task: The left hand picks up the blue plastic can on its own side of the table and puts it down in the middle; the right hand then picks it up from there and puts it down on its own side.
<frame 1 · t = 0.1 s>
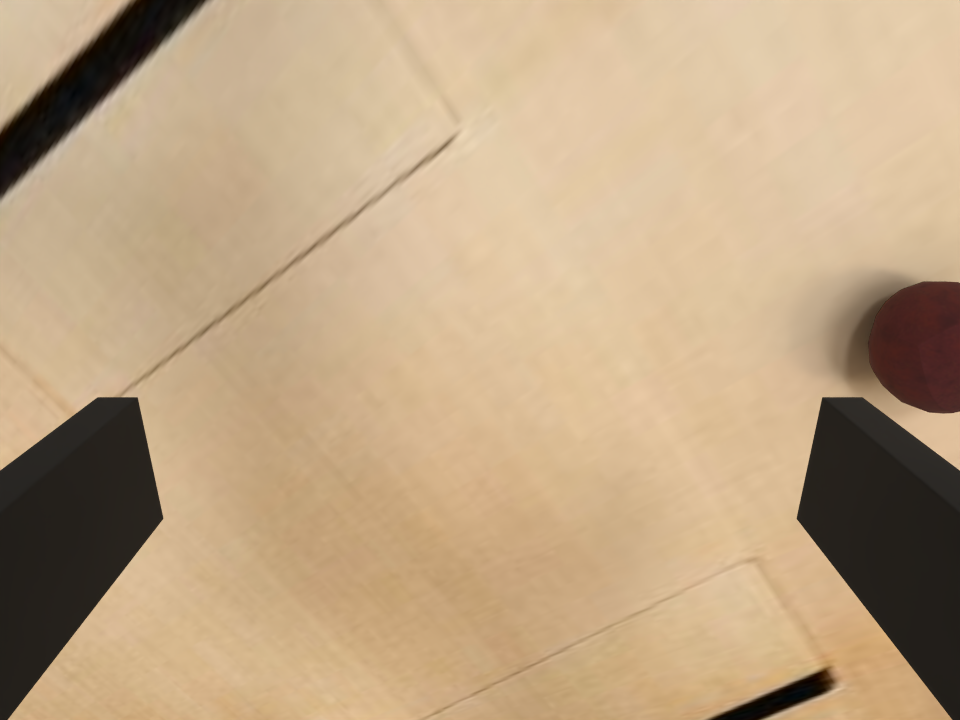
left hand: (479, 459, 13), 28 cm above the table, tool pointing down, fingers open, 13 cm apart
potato: (901, 325, 41), on the table
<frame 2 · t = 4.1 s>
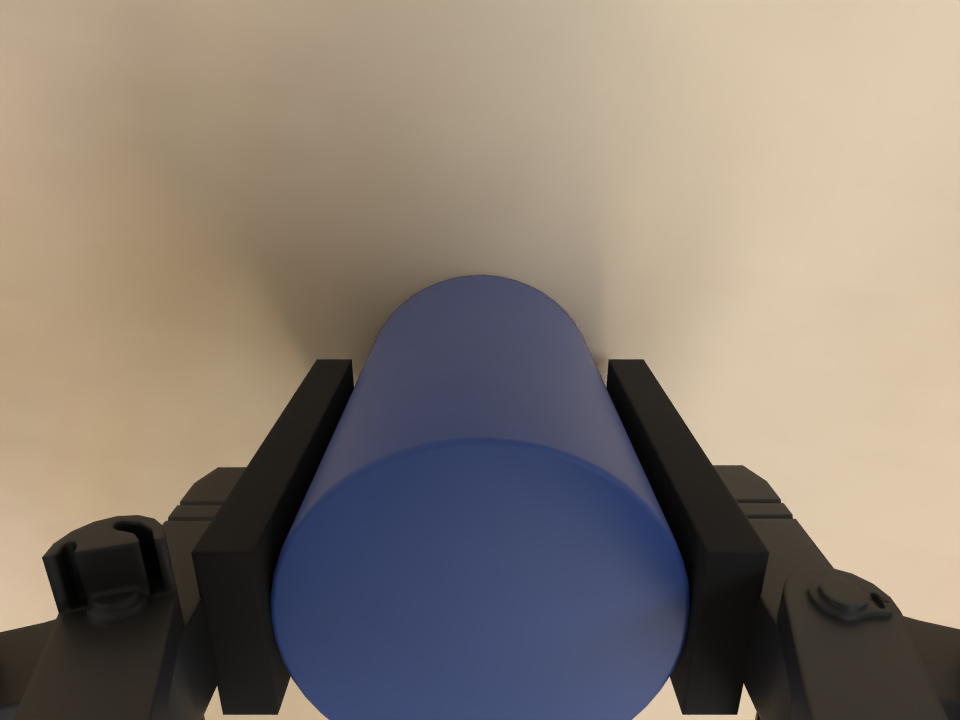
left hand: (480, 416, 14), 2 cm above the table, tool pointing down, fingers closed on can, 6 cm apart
can: (480, 383, 16), on the table, touching left hand
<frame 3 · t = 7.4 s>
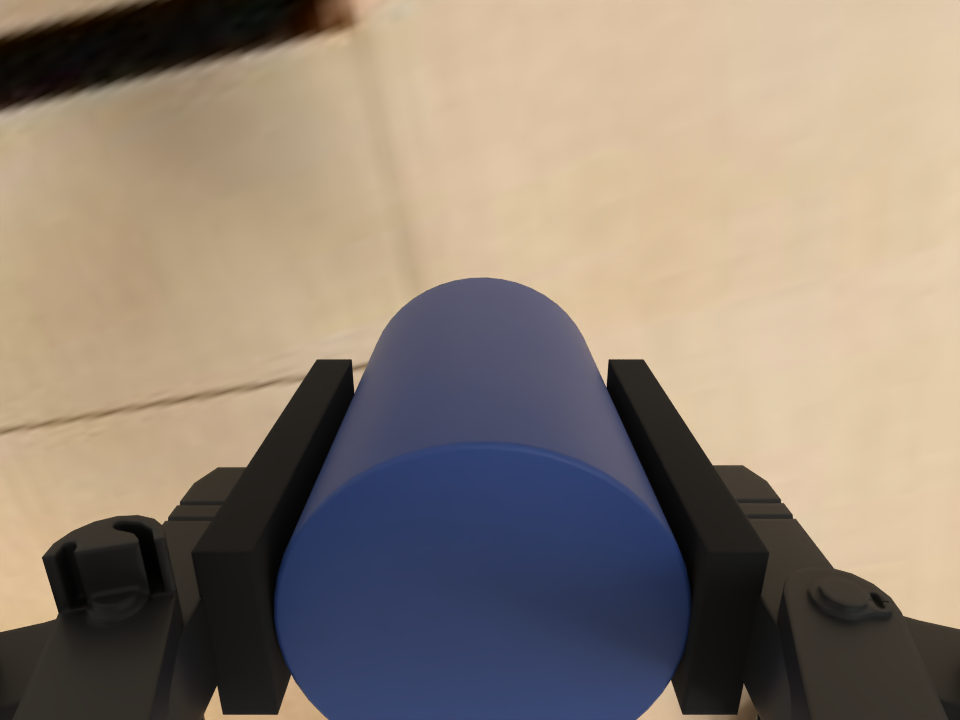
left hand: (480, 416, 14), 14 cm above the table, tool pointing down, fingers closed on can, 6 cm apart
can: (481, 385, 16), point 12 cm above the table, touching left hand
when the left hand's fingers open (3 cm above the table, at t = 11.0 s): can drops 1 cm, on the table.
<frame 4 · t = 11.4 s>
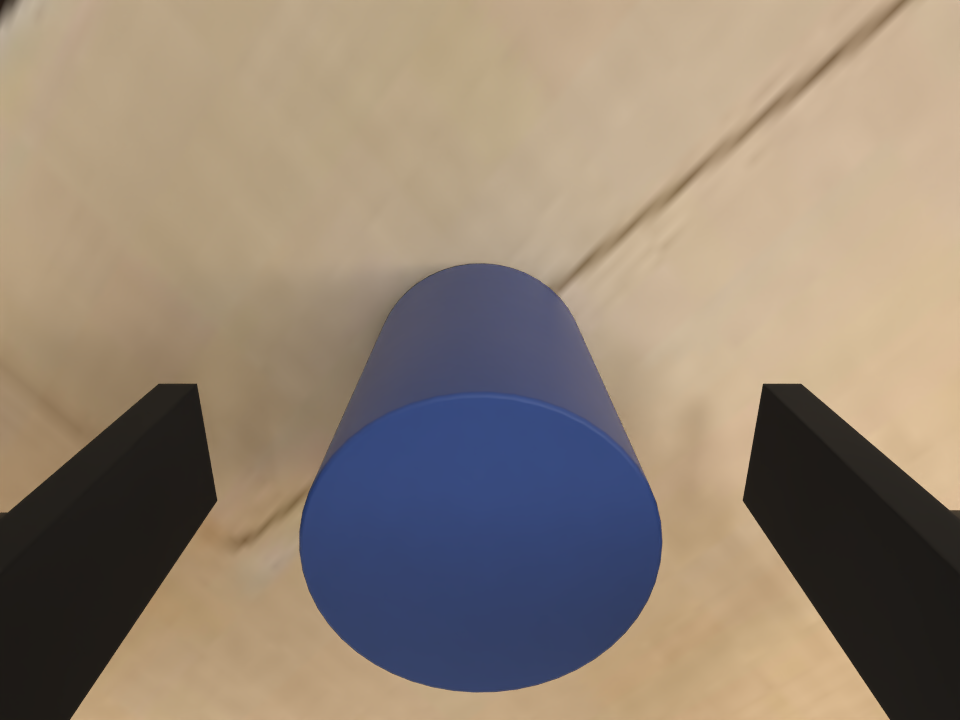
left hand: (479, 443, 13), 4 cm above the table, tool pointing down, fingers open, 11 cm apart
can: (480, 364, 17), on the table
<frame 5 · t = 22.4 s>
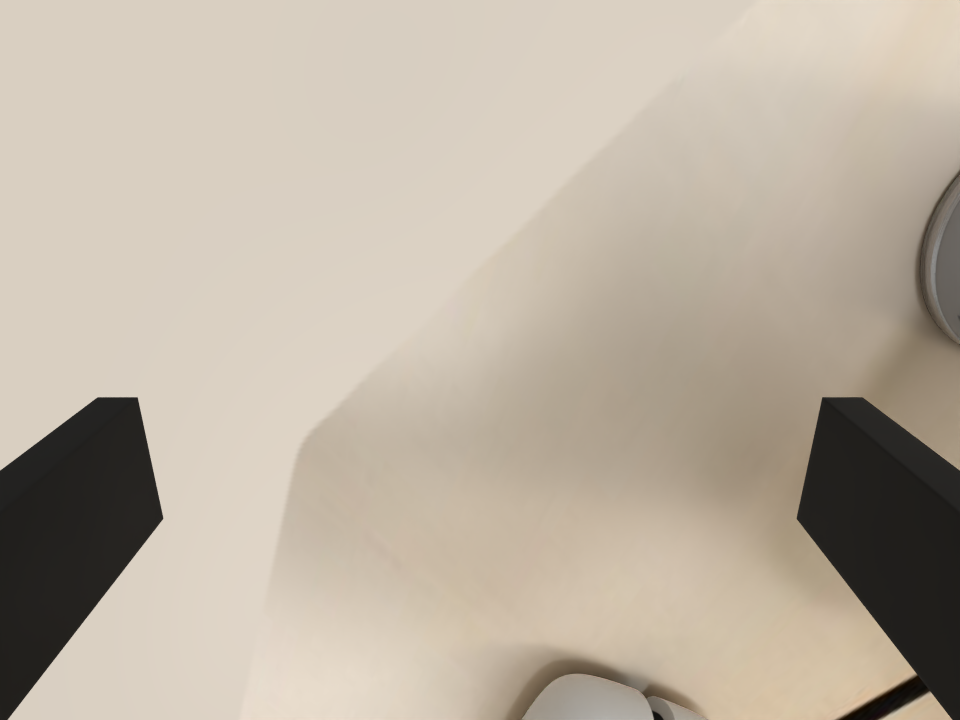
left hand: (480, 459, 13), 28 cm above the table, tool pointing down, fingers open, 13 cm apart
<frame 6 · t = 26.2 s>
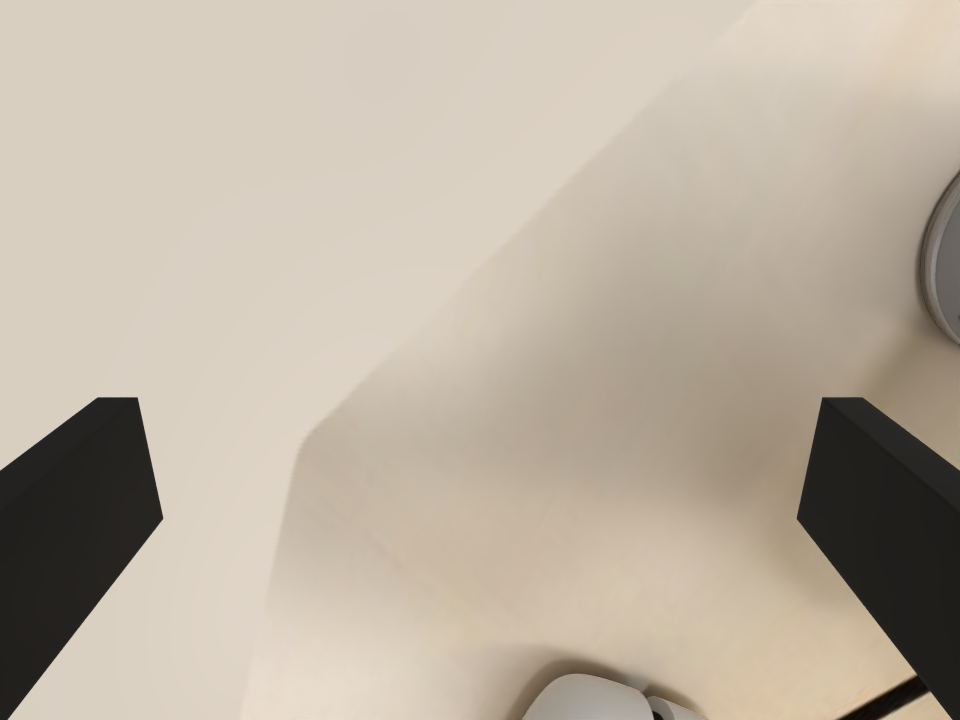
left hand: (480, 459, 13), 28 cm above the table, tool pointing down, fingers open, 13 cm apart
when the right hand's fingers open (3 cm above the table, at t = 30.1 s): can drops 1 cm, on the table.
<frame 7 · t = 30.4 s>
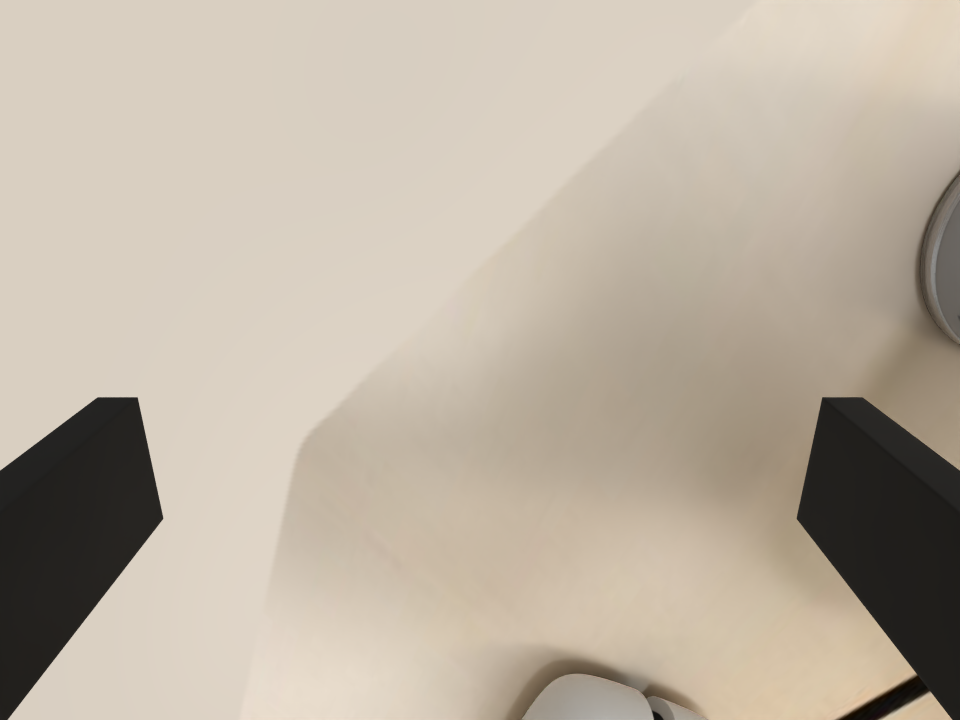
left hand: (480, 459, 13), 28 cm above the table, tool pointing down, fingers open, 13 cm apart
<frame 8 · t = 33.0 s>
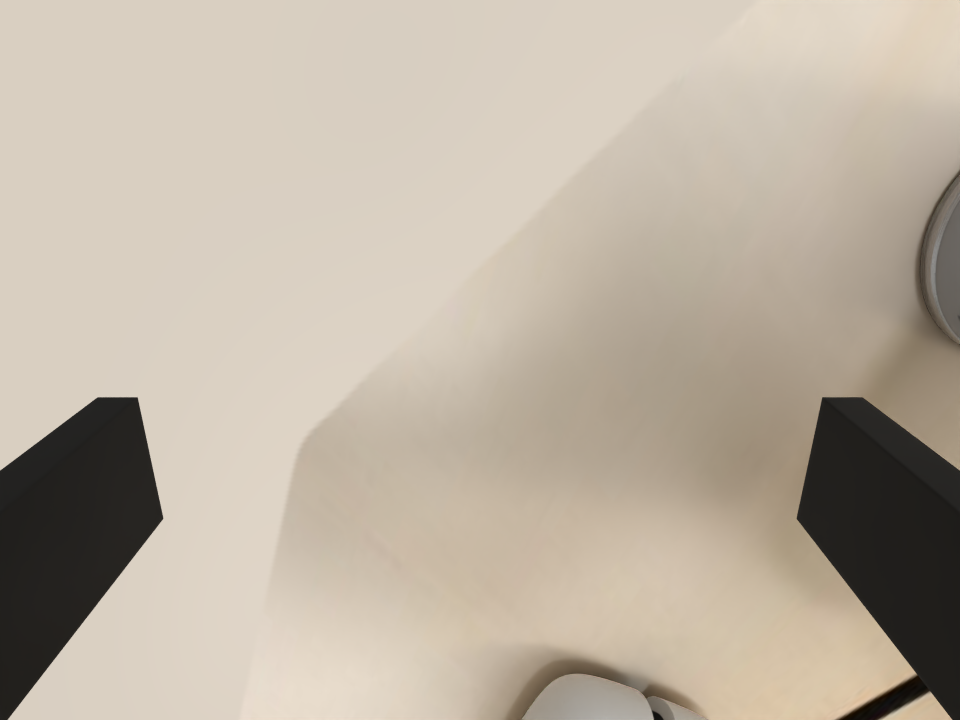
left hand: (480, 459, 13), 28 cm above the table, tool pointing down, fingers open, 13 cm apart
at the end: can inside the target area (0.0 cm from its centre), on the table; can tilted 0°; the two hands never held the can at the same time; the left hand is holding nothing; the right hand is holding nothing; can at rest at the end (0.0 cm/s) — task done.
